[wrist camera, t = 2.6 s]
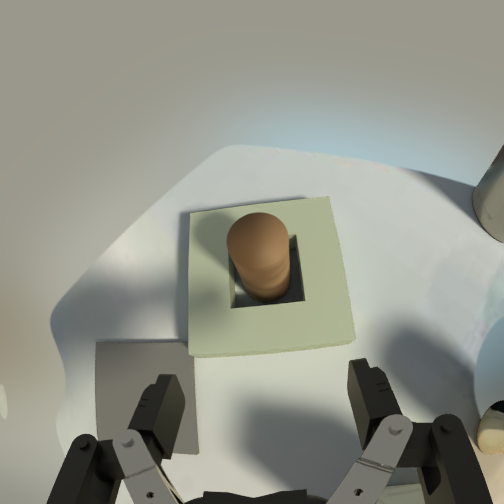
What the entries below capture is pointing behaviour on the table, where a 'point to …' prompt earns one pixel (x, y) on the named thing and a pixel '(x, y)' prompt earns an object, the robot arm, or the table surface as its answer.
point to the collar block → (268, 316)
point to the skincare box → (402, 495)
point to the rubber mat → (142, 386)
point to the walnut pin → (261, 255)
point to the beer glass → (492, 430)
